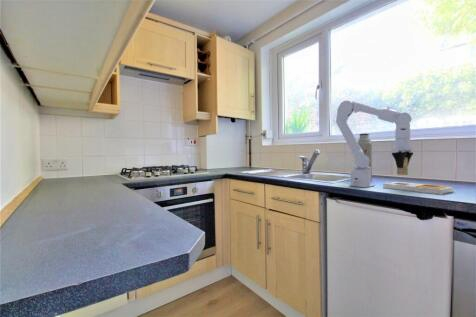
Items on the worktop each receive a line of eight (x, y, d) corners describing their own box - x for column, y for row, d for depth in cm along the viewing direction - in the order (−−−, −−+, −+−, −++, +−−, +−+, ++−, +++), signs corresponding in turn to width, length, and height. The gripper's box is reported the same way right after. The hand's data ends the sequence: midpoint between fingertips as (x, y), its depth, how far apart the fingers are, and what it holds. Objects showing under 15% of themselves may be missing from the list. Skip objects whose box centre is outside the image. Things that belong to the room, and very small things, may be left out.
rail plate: (441, 194, 92) (441, 188, 92) (383, 187, 111) (383, 182, 111) (452, 191, 98) (452, 186, 98) (395, 185, 117) (395, 181, 117)
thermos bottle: (368, 181, 133) (368, 133, 133) (354, 180, 140) (354, 133, 139) (374, 180, 138) (374, 133, 137) (360, 179, 145) (360, 134, 144)
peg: (405, 175, 106) (405, 157, 106) (395, 174, 110) (395, 157, 109) (409, 174, 108) (409, 157, 108) (399, 173, 112) (399, 157, 111)
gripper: (404, 137, 101) (404, 168, 102) (419, 138, 109) (419, 167, 109) (387, 138, 107) (387, 167, 108) (402, 139, 115) (402, 166, 115)
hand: (402, 167), depth 109 cm, fingers closed on peg, 4 cm apart
